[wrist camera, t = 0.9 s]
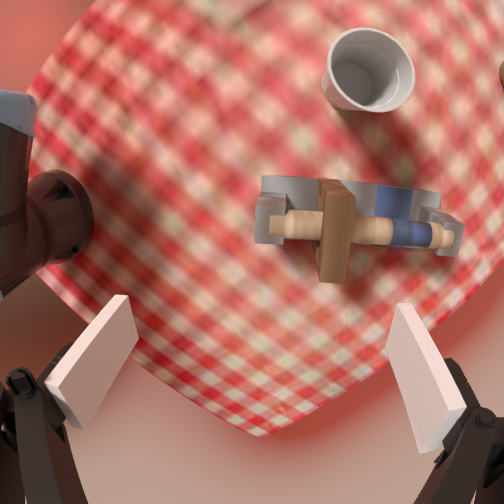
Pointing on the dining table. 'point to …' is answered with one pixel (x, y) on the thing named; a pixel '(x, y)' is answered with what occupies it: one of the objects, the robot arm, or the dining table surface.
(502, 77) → the squeeze bottle
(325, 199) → the collar
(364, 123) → the dining table surface
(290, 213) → the rail
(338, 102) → the cup
